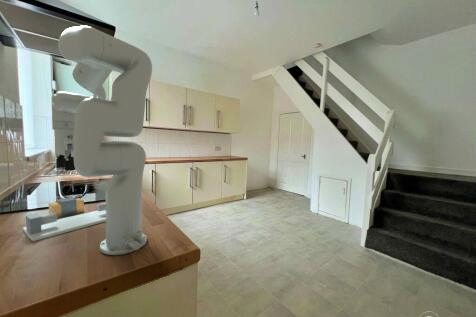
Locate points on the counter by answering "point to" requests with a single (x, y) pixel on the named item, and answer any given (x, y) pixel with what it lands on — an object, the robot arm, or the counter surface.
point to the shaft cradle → (61, 223)
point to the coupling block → (66, 206)
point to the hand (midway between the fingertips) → (65, 168)
